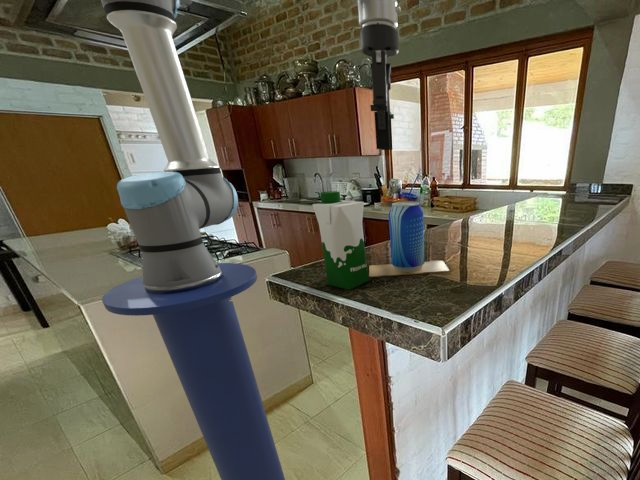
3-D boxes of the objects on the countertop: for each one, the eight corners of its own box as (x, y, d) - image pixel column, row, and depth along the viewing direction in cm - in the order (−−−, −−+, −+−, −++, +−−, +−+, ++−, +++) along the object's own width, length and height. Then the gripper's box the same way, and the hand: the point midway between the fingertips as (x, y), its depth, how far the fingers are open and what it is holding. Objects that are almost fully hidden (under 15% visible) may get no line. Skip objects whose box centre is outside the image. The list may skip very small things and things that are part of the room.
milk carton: (347, 274, 84) (336, 190, 75) (375, 280, 79) (367, 191, 71) (321, 285, 77) (306, 194, 69) (350, 292, 73) (338, 195, 64)
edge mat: (369, 277, 81) (369, 276, 81) (369, 266, 89) (369, 265, 89) (449, 271, 84) (449, 270, 84) (442, 261, 92) (442, 260, 92)
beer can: (405, 261, 92) (402, 200, 85) (430, 266, 87) (430, 202, 80) (385, 269, 86) (380, 204, 79) (411, 275, 81) (409, 206, 74)
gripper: (396, 2, 54) (401, 148, 63) (399, 47, 77) (402, 150, 86) (350, 2, 54) (361, 148, 63) (366, 47, 77) (373, 150, 86)
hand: (385, 149), depth 75 cm, fingers open, 13 cm apart
